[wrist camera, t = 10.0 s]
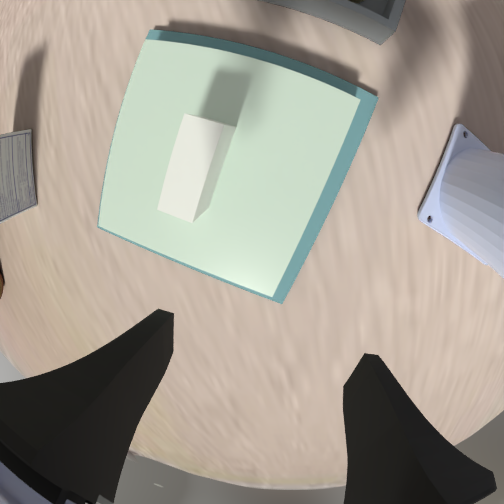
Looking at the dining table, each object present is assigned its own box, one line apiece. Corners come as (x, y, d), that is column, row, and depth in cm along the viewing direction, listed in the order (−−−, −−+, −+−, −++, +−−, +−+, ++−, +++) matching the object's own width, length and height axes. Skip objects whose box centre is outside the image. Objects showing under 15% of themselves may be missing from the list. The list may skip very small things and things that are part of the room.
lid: (353, 103, 14) (377, 91, 9) (273, 283, 19) (268, 325, 15) (157, 46, 13) (120, 26, 9) (111, 218, 19) (72, 241, 15)
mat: (376, 98, 14) (378, 97, 13) (282, 300, 21) (282, 304, 20) (153, 31, 13) (150, 29, 13) (100, 225, 20) (97, 227, 20)
